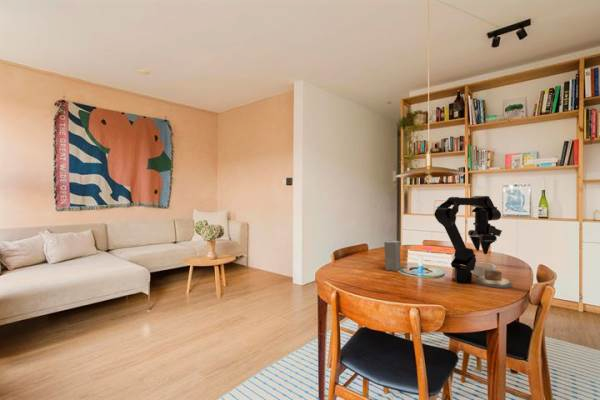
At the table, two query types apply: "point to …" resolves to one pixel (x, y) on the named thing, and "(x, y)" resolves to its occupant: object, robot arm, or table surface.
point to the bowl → (482, 268)
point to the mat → (493, 285)
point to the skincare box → (392, 255)
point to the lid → (493, 278)
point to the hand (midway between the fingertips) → (481, 252)
